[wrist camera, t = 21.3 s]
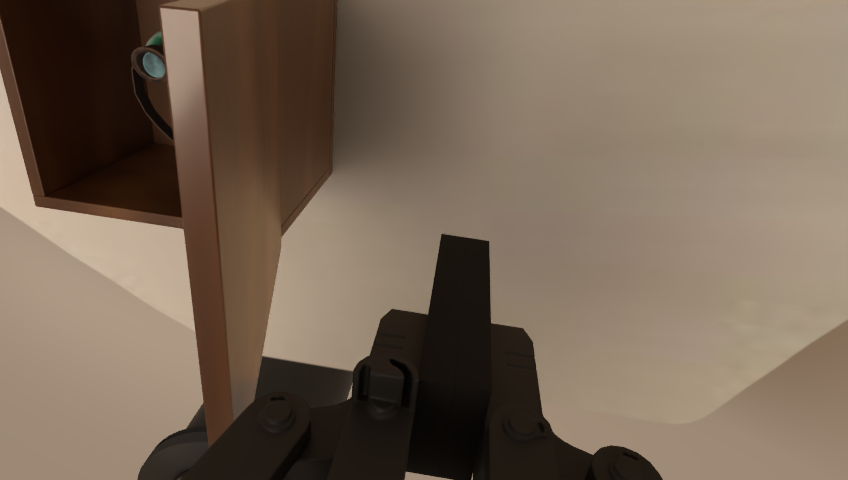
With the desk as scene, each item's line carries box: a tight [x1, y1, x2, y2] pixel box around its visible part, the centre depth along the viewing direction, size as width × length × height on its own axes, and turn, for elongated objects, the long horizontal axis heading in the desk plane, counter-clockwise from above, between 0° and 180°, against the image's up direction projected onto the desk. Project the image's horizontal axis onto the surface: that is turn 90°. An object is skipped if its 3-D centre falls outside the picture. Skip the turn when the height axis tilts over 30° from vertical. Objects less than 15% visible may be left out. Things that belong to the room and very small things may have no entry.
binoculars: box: [131, 31, 174, 142], centre depth 35 cm, size 9×11×10 cm
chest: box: [0, 0, 337, 237], centre depth 34 cm, size 16×15×13 cm
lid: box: [159, 0, 281, 448], centre depth 21 cm, size 16×15×1 cm
